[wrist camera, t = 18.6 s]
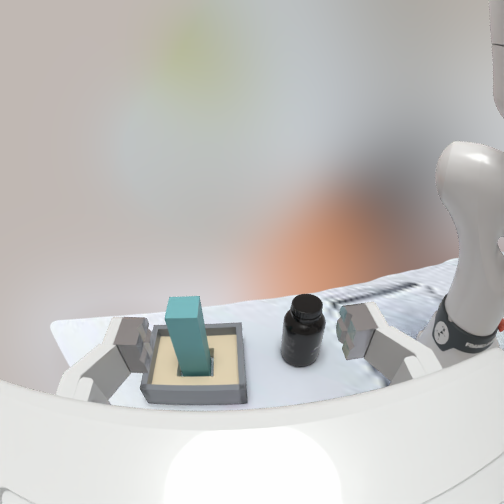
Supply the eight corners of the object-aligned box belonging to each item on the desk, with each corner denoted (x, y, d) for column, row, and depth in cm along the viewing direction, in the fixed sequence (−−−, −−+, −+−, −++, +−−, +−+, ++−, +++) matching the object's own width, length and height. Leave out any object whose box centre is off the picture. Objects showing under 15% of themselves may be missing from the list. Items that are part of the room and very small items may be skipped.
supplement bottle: (321, 366, 45) (333, 317, 39) (282, 368, 45) (286, 320, 39) (315, 338, 51) (324, 288, 45) (279, 339, 51) (282, 290, 45)
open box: (242, 339, 51) (241, 322, 49) (247, 403, 39) (246, 389, 37) (159, 341, 51) (154, 325, 48) (148, 403, 39) (139, 388, 36)
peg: (211, 360, 47) (199, 296, 39) (210, 380, 43) (197, 317, 36) (187, 360, 47) (169, 297, 39) (185, 380, 43) (164, 318, 35)
